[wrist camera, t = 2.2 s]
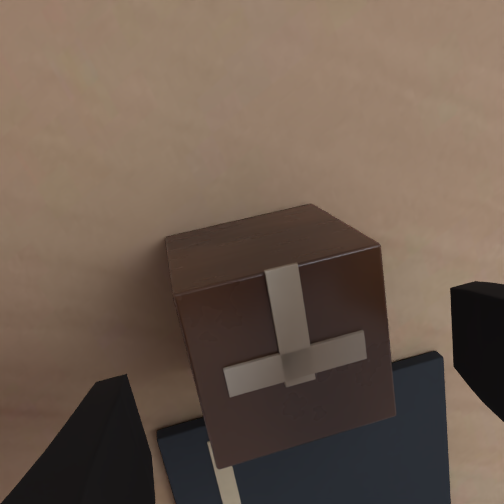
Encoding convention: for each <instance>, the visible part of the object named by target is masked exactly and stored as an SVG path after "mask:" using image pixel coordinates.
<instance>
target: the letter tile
mask: <svg viewBox="0 0 504 504" xmlns="http://www.w3.org/2000/svg"><path fill="white" fill-rule="evenodd" d="M165 242H166V250H167V257H168V264H169V271H170V279H171V286H172V293H173V299H174V303H175V307H176V311H177V315H178V319H179V323H180V326H181V330H182V334H183V338H184V342H185V346H186V350H187V354H188V358H189V362H190V366H191V370H192V374H193V378H194V381H195V385H196V389H197V393H198V397H199V401H200V405H201V409H202V413H203V417H204V421H205V425H206V429H207V433H208V437H209V440H210V444H211V448H212V452H213V456H214V460H215V464H216V467H217V469H219V470H220V469H223V468H227V467H230V466H233V465H237V464H240V463H243V462H246V461H250V460H253V459H256V458H260V457H263V456H266V455H269V454H273V453H276V452H279V451H283V450H286V449H289V448H292V447H296V446H299V445H302V444H306V443H309V442H312V441H315V440H319V439H322V438H325V437H329V436H332V435H335V434H338V433H342V432H345V431H348V430H352V429H355V428H358V427H361V426H365V425H368V424H371V423H375V422H378V421H381V420H384V419H388V418H391V417H394V416H396V405H395V394H394V384H393V373H392V362H391V351H390V340H389V330H388V319H387V308H386V297H385V286H384V276H383V265H382V254H381V245H380V244H379V243H378V242H376V241H374V240H373V239H371V238H369V237H368V236H366V235H364V234H363V233H361V232H359V231H357V230H356V229H354V228H352V227H351V226H349V225H347V224H346V223H344V222H342V221H340V220H339V219H337V218H335V217H334V216H332V215H330V214H329V213H327V212H325V211H324V210H322V209H320V208H318V207H317V206H315V205H313V204H308V205H304V206H299V207H295V208H291V209H286V210H282V211H277V212H273V213H269V214H264V215H260V216H256V217H251V218H247V219H242V220H238V221H234V222H229V223H225V224H221V225H216V226H212V227H207V228H203V229H199V230H194V231H190V232H186V233H181V234H177V235H172V236H168V237H166V238H165Z"/></svg>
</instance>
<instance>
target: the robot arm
mask: <svg viewBox="0 0 504 504" xmlns="http://www.w3.org/2000/svg"><path fill="white" fill-rule="evenodd" d="M450 292H451V316H452V339H453V363H454V368H455V369H456V370H457V371H458V373H459V374H460V375H461V377H462V378H463V379H464V380H465V382H466V383H467V384H468V385H469V387H470V388H471V389H472V390H473V391H474V392H475V394H476V395H477V396H478V397H479V398H480V399H481V401H482V402H483V403H484V404H485V405H486V406H487V407H488V408H489V409H491V410H492V411H493V412H494V413H495V414H496V415H497V416H498V417H499V418H500V419H501V420H502V421H503V422H504V284H497V283H490V282H478V281H475V282H471V283H467V284H463V285H459V286H456V287H452V288H450ZM1 504H155V491H154V478H153V466H152V455H151V452H150V448H149V445H148V442H147V439H146V435H145V432H144V429H143V426H142V422H141V419H140V416H139V413H138V409H137V406H136V403H135V400H134V396H133V393H132V390H131V387H130V383H129V380H128V377H127V374H125V375H121V376H117V377H113V378H110V379H106V380H102V381H98V382H96V383H95V384H94V385H93V387H92V388H91V389H90V391H89V392H88V393H87V395H86V396H85V398H84V399H83V400H82V402H81V403H80V404H79V406H78V407H77V409H76V410H75V411H74V413H73V414H72V416H71V417H70V418H69V420H68V421H67V422H66V424H65V425H64V426H63V428H62V429H61V430H60V432H59V433H58V434H57V436H56V437H55V438H54V440H53V441H52V442H51V444H50V445H49V446H48V448H47V449H46V450H45V452H44V453H43V454H42V455H41V456H40V458H39V459H38V460H37V461H36V462H35V464H34V465H33V466H32V467H31V468H30V470H29V471H28V472H27V473H26V474H25V476H24V477H23V478H22V479H21V481H20V482H19V483H18V484H17V485H16V487H15V488H14V489H13V490H12V491H11V493H10V494H9V495H8V496H7V497H6V498H5V499H4V501H3V502H2V503H1Z"/></svg>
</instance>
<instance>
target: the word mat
mask: <svg viewBox="0 0 504 504" xmlns="http://www.w3.org/2000/svg"><path fill="white" fill-rule="evenodd" d="M392 373H393V384H394V394H395V405H396V416H394V417H391V418H388V419H384V420H381V421H378V422H375V423H371V424H368V425H365V426H361V427H358V428H355V429H352V430H348V431H345V432H342V433H338V434H335V435H332V436H329V437H325V438H322V439H319V440H315V441H312V442H309V443H306V444H302V445H299V446H296V447H292V448H289V449H286V450H283V451H279V452H276V453H273V454H269V455H266V456H263V457H260V458H256V459H253V460H250V461H246V462H243V463H240V464H237V465H233V466H230V467H227V468H223V469H220V470H219V469H217V467H216V464H215V460H214V456H213V452H212V448H211V444H210V440H209V437H208V433H207V429H206V425H205V421H204V417H203V418H199V419H196V420H192V421H189V422H185V423H182V424H178V425H175V426H171V427H168V428H164V429H161V430H158V431H157V442H158V445H159V449H160V452H161V455H162V459H163V462H164V465H165V469H166V472H167V475H168V479H169V482H170V485H171V489H172V492H173V495H174V499H175V502H176V504H451V499H450V479H449V459H448V440H447V420H446V400H445V380H444V361H443V356H441V355H440V354H439V353H438V352H437V351H433V352H429V353H426V354H422V355H419V356H415V357H412V358H408V359H405V360H401V361H398V362H394V363H392Z"/></svg>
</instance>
